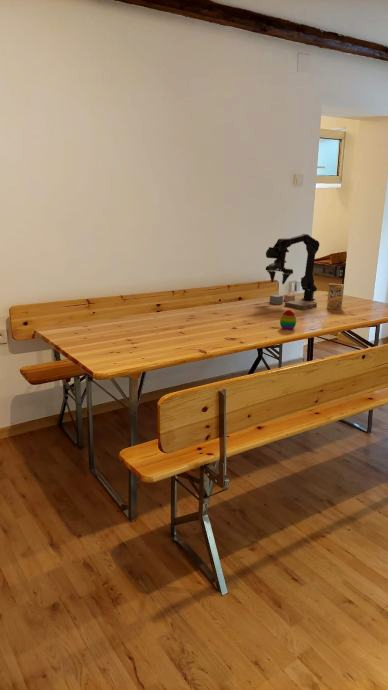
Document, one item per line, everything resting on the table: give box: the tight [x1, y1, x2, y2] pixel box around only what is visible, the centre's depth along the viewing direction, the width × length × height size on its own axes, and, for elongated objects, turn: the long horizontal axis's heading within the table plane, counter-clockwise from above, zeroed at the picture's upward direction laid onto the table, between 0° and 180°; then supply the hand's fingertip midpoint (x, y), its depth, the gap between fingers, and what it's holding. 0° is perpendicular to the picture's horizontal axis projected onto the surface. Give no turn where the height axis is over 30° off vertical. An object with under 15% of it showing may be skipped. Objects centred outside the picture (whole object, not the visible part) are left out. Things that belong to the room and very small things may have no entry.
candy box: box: [326, 283, 345, 311], centre depth 315 cm, size 9×4×15 cm, turn 70°
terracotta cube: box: [283, 293, 296, 302], centre depth 338 cm, size 5×5×4 cm
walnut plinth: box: [284, 299, 318, 311], centre depth 320 cm, size 14×14×2 cm
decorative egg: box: [279, 309, 297, 331], centre depth 264 cm, size 8×8×10 cm
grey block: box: [269, 294, 284, 305], centre depth 330 cm, size 6×6×5 cm
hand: (277, 283), depth 327 cm, fingers open, 9 cm apart
